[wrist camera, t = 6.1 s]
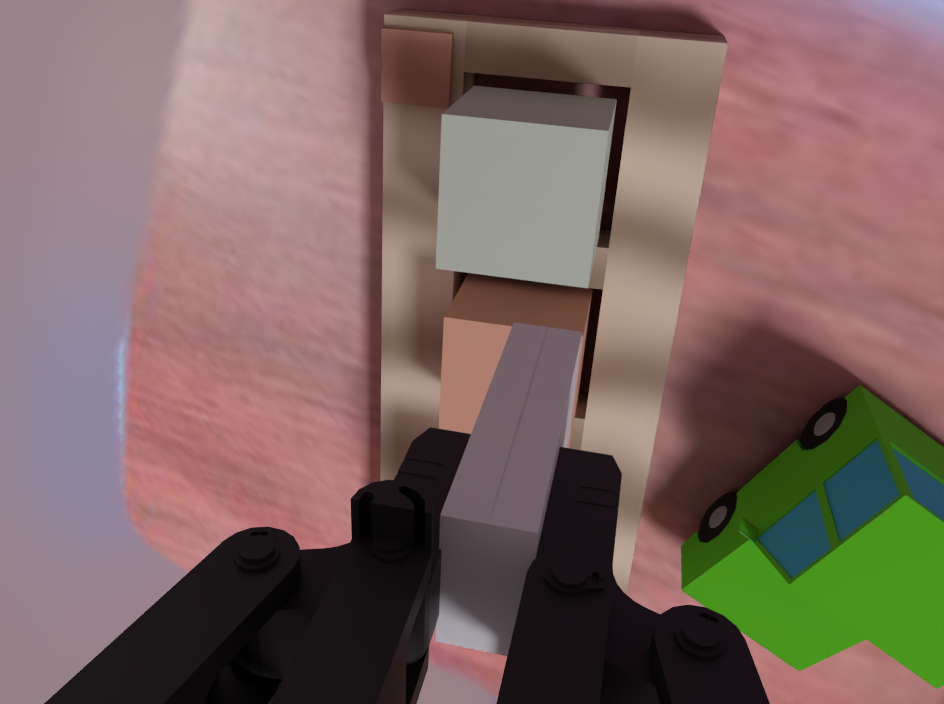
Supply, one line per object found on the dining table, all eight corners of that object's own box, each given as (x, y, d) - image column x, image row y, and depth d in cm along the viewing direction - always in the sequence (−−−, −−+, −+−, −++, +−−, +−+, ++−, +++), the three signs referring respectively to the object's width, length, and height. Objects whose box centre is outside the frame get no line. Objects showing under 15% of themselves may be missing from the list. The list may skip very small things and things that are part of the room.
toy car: (658, 524, 47) (656, 660, 39) (838, 360, 41) (885, 479, 32) (800, 623, 49) (829, 778, 40) (996, 478, 42) (1082, 624, 34)
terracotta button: (471, 267, 42) (443, 316, 37) (593, 282, 41) (583, 336, 36) (465, 373, 45) (438, 434, 40) (579, 390, 44) (567, 455, 39)
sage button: (474, 85, 36) (441, 114, 31) (616, 99, 35) (608, 130, 30) (466, 221, 39) (435, 268, 34) (598, 237, 38) (588, 288, 33)
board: (400, 8, 38) (381, 15, 35) (724, 36, 36) (728, 44, 33) (391, 527, 51) (377, 558, 49) (626, 568, 49) (624, 604, 47)
